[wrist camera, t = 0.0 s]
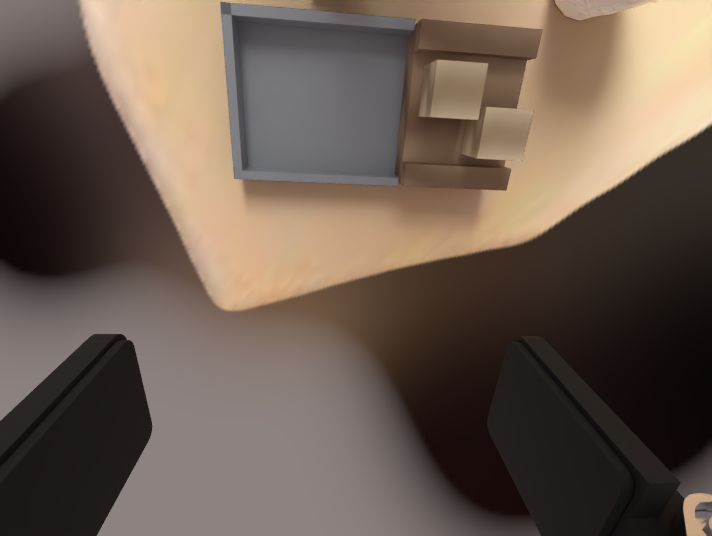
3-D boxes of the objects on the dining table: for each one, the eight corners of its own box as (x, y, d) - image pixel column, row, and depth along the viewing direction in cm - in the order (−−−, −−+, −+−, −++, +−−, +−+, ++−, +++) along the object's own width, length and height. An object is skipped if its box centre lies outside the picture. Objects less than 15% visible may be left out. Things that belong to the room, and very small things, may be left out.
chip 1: (424, 65, 30) (437, 59, 27) (469, 69, 31) (488, 63, 27) (418, 116, 32) (430, 116, 28) (461, 119, 32) (478, 119, 29)
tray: (229, 11, 31) (220, 2, 28) (408, 27, 33) (415, 19, 30) (241, 174, 37) (234, 178, 34) (393, 180, 38) (398, 186, 35)
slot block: (407, 33, 33) (421, 19, 28) (510, 42, 34) (542, 29, 29) (393, 176, 38) (403, 185, 33) (483, 180, 39) (506, 190, 34)
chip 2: (468, 107, 32) (486, 106, 28) (510, 110, 32) (534, 109, 29) (460, 153, 34) (477, 158, 30) (501, 155, 34) (522, 160, 30)
